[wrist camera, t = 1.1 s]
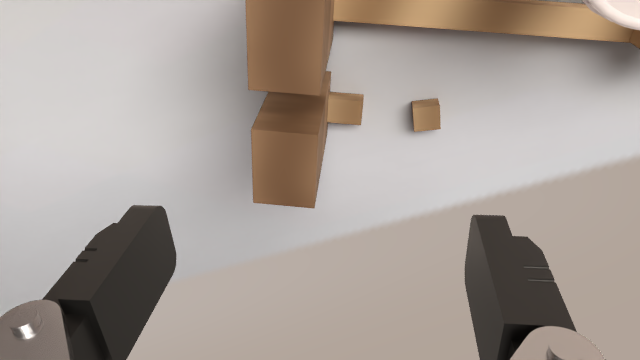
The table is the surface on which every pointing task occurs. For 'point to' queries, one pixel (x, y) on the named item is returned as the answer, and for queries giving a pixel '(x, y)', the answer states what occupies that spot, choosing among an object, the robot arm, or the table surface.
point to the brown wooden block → (307, 140)
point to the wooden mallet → (394, 9)
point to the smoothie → (617, 11)
